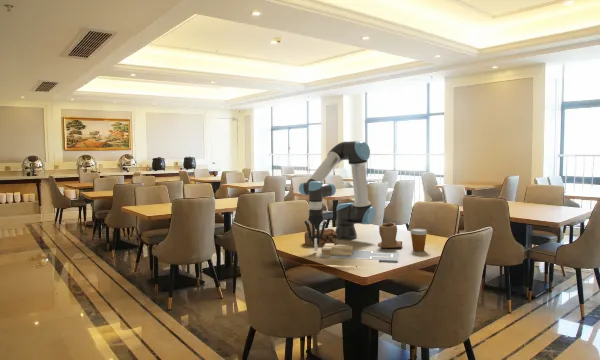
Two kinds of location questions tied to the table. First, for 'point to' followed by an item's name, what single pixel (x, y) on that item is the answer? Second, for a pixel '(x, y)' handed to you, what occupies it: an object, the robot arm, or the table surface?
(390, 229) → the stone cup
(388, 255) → the t board
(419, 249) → the disposable coffee cup
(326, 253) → the t block
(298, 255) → the table surface
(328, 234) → the bread
